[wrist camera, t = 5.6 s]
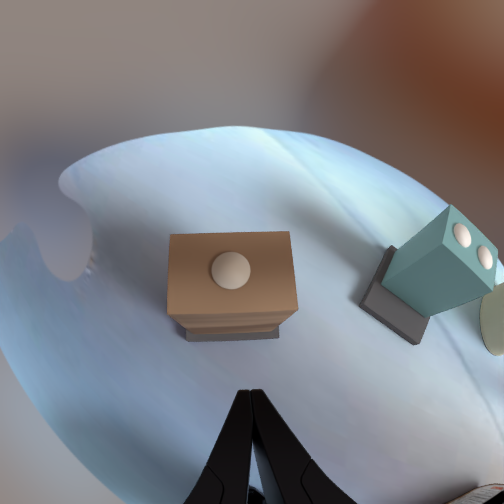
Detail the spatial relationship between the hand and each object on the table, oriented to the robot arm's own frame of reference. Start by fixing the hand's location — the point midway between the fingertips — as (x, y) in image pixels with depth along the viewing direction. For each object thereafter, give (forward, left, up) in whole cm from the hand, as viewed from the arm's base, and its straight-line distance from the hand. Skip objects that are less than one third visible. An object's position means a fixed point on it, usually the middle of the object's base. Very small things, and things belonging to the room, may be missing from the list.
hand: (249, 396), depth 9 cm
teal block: (+17, -5, -11) cm, 21 cm away
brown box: (+3, +5, -11) cm, 13 cm away
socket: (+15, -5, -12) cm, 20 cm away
